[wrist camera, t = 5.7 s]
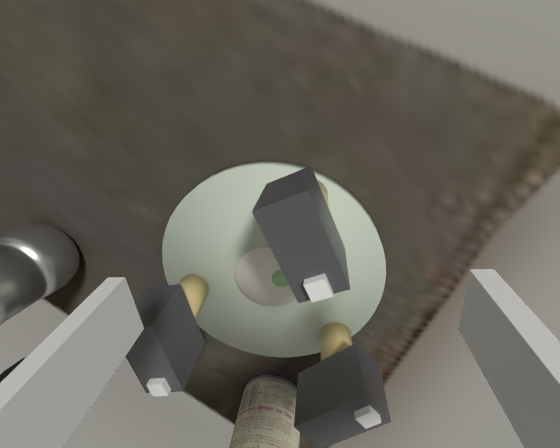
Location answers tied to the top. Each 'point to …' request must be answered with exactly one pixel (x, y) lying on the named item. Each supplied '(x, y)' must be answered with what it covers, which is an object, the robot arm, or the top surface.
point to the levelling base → (266, 264)
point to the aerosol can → (266, 414)
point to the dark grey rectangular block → (168, 335)
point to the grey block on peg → (303, 235)
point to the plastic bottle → (33, 265)
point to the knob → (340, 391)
